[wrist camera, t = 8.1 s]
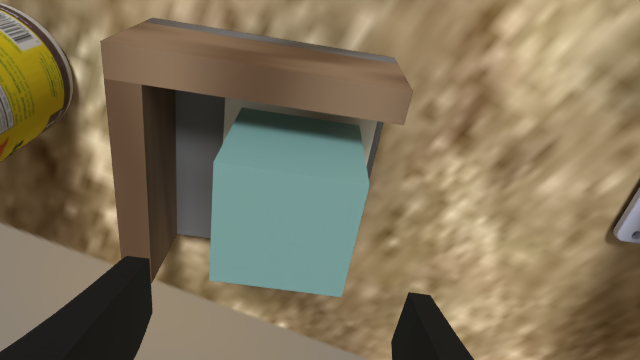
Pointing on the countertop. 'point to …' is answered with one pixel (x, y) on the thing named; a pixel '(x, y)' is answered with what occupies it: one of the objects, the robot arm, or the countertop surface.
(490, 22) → the countertop surface
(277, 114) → the teal block
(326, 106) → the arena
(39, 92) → the supplement bottle
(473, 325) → the countertop surface
